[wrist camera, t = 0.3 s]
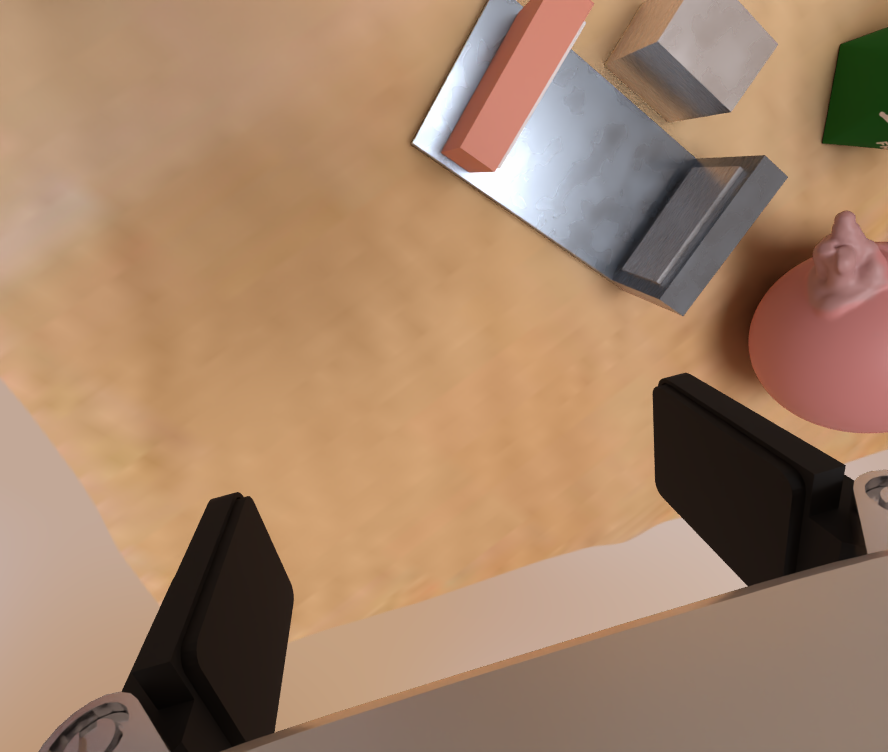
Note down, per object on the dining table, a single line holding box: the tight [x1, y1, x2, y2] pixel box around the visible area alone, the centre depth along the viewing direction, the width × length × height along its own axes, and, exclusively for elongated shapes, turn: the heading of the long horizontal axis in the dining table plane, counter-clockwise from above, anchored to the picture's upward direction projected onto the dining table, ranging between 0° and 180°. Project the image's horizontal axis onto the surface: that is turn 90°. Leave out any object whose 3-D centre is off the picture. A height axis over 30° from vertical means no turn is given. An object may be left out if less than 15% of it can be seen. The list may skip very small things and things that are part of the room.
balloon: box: [749, 211, 888, 433], centre depth 39 cm, size 15×20×15 cm
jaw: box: [441, 0, 594, 173], centre depth 30 cm, size 10×3×7 cm, turn 148°
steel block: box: [604, 0, 778, 122], centre depth 33 cm, size 4×7×7 cm, turn 58°
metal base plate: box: [411, 0, 788, 316], centre depth 34 cm, size 11×22×8 cm, turn 58°
